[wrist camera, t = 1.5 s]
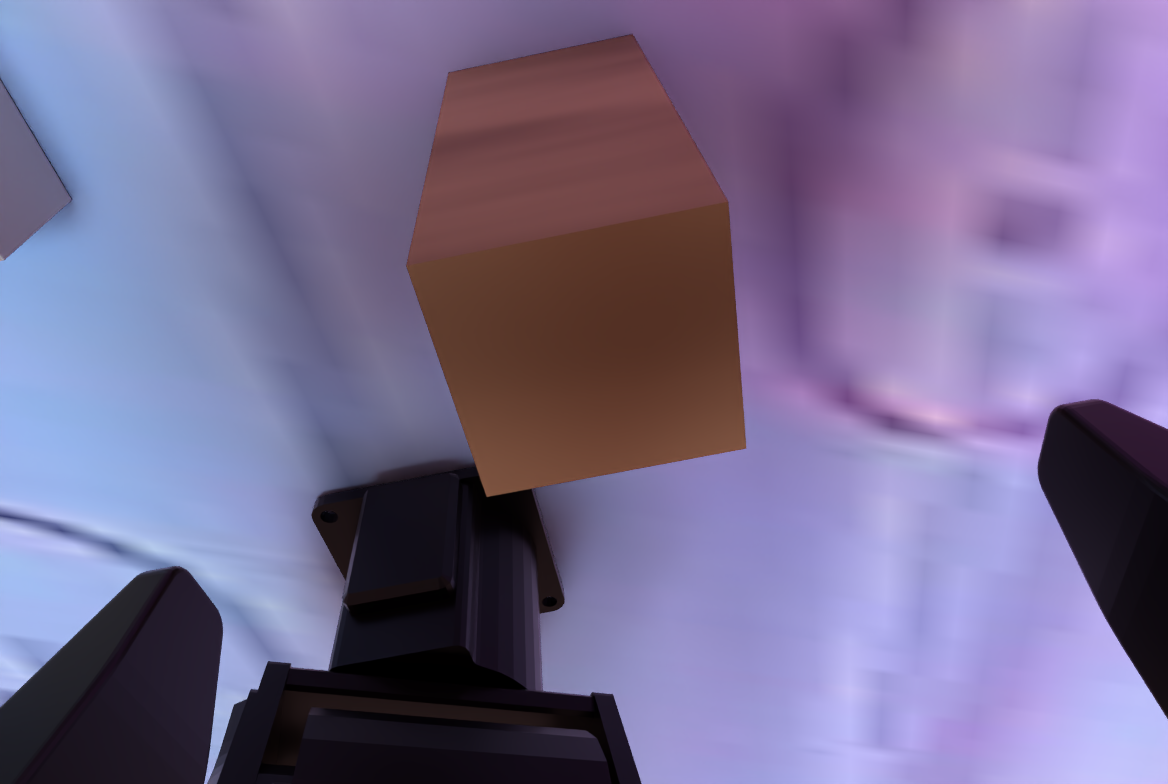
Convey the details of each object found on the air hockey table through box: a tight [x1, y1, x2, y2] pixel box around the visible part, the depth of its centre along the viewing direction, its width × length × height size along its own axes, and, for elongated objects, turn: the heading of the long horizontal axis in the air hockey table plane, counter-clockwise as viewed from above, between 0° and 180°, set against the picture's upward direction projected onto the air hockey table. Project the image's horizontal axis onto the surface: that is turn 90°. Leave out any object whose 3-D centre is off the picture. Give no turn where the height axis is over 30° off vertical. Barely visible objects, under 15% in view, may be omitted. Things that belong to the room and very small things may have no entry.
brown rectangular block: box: [406, 34, 746, 497], centre depth 15 cm, size 4×4×9 cm
